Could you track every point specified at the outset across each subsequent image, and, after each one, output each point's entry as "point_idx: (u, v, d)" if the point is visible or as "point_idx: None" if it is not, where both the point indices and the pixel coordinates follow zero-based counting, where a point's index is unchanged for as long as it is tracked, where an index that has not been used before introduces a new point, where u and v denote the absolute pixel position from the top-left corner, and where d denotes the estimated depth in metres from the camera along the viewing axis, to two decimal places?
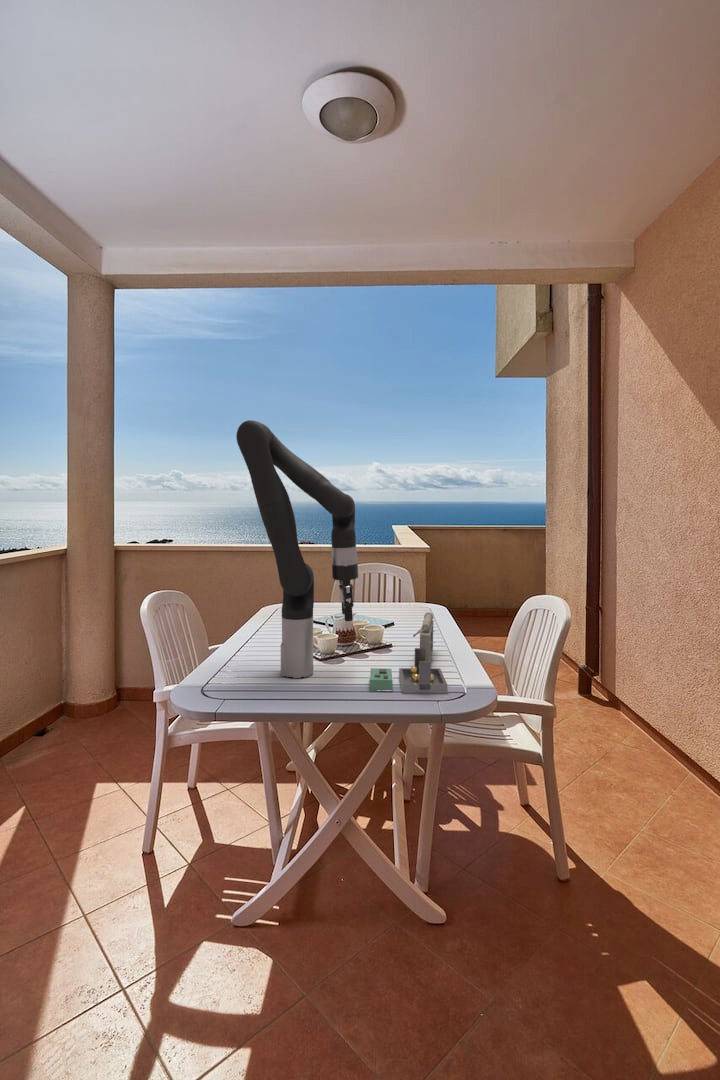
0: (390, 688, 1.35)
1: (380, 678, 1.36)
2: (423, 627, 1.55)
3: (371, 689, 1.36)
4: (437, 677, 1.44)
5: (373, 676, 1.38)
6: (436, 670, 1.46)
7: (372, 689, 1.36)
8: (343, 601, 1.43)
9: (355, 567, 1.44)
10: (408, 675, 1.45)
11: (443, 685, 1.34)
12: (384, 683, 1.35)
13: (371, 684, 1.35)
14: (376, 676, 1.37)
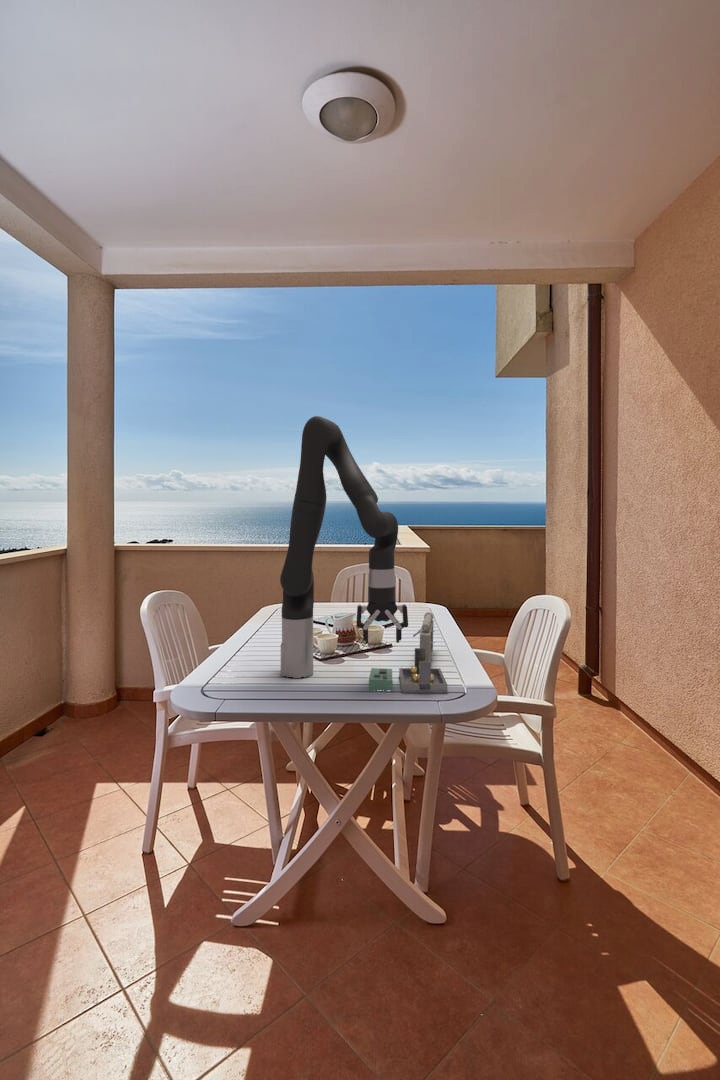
0: (389, 688, 1.35)
1: (379, 678, 1.36)
2: (423, 627, 1.55)
3: (370, 689, 1.36)
4: (437, 677, 1.44)
5: (372, 676, 1.38)
6: (436, 670, 1.46)
7: (371, 689, 1.36)
8: (396, 623, 1.38)
9: None
10: (408, 675, 1.45)
11: (443, 685, 1.34)
12: (383, 683, 1.35)
13: (370, 684, 1.36)
14: (375, 676, 1.38)
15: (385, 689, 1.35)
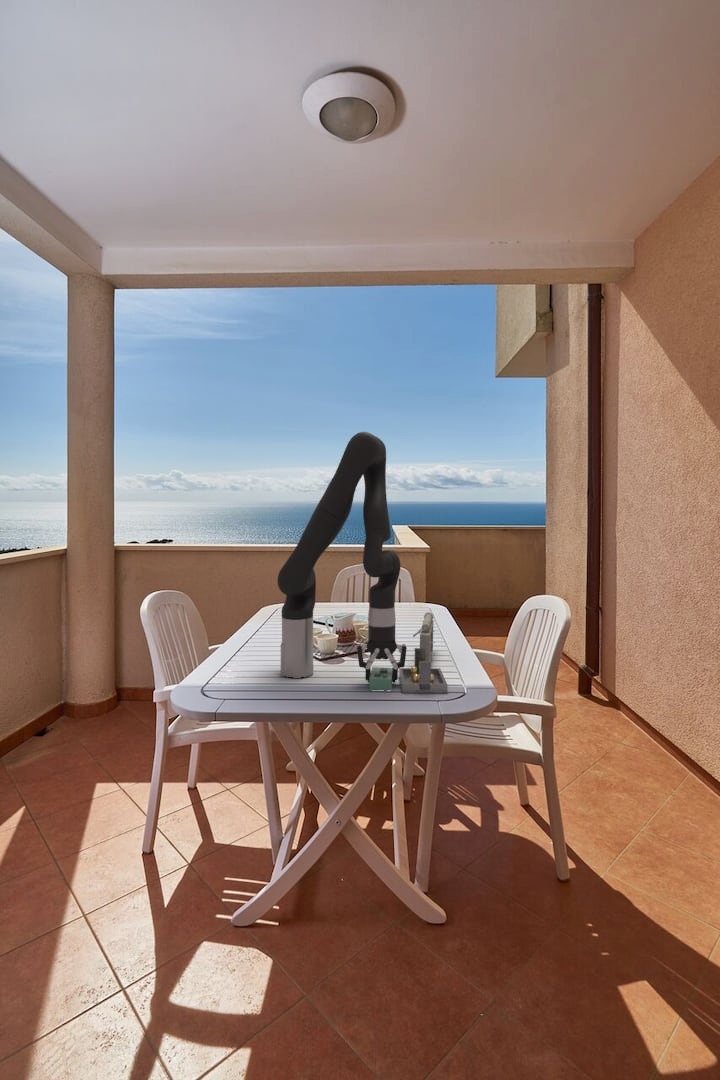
0: (389, 687, 1.35)
1: (379, 677, 1.36)
2: (423, 627, 1.55)
3: (370, 688, 1.36)
4: (437, 677, 1.44)
5: (373, 675, 1.38)
6: (436, 670, 1.46)
7: (371, 688, 1.36)
8: (393, 662, 1.39)
9: None
10: (408, 675, 1.45)
11: (443, 685, 1.34)
12: (383, 682, 1.35)
13: (370, 683, 1.36)
14: (376, 675, 1.38)
15: (385, 688, 1.35)
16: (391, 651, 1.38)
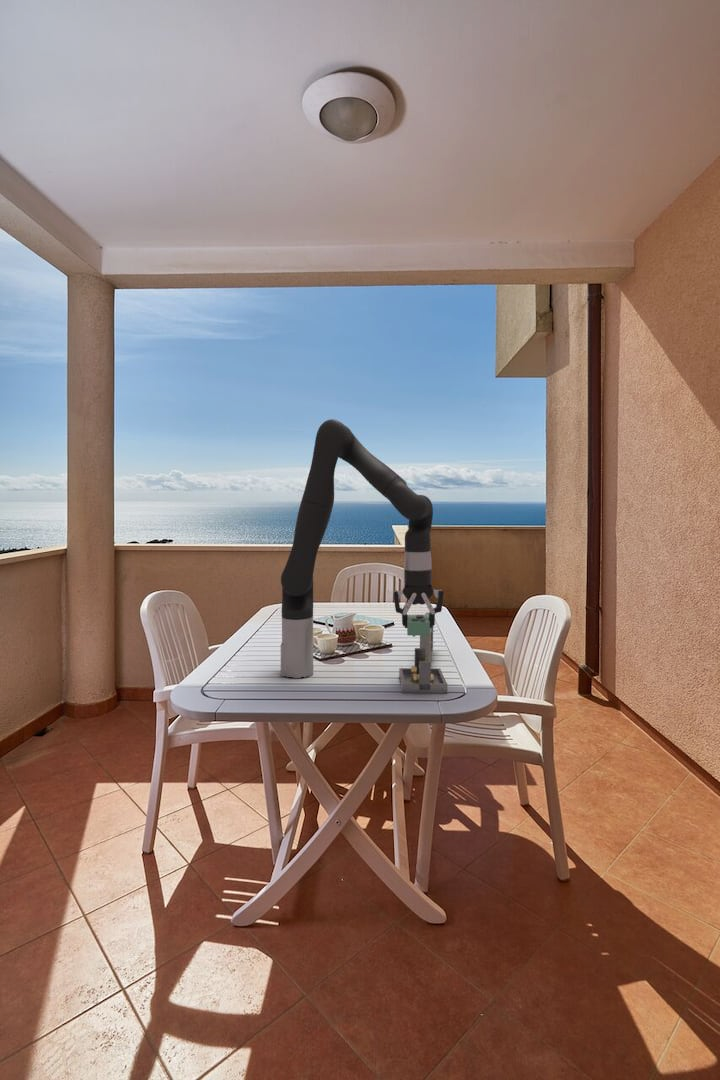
0: (427, 631, 1.34)
1: (417, 621, 1.36)
2: None
3: (408, 632, 1.35)
4: (437, 677, 1.44)
5: (410, 620, 1.37)
6: (436, 670, 1.46)
7: (409, 632, 1.35)
8: (430, 607, 1.38)
9: None
10: (408, 675, 1.45)
11: (443, 685, 1.34)
12: (421, 626, 1.34)
13: (408, 627, 1.35)
14: (413, 620, 1.37)
15: (423, 632, 1.35)
16: (428, 596, 1.38)
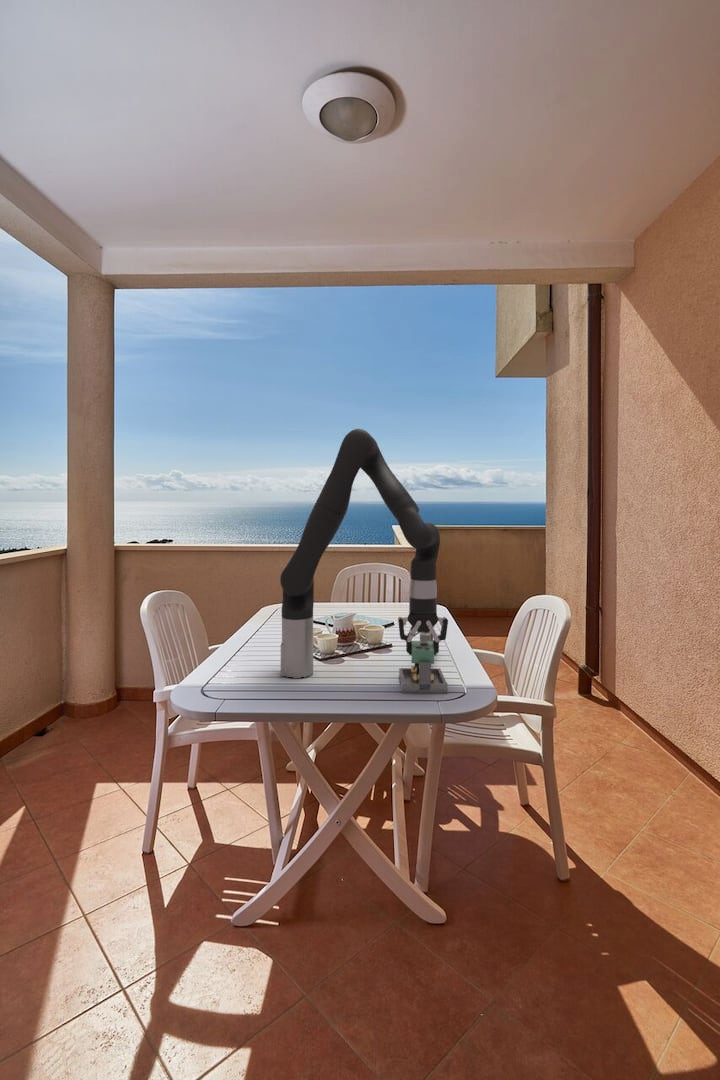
0: (432, 659, 1.35)
1: (422, 649, 1.36)
2: None
3: (413, 660, 1.36)
4: (437, 677, 1.44)
5: (414, 647, 1.38)
6: (436, 670, 1.46)
7: (414, 660, 1.36)
8: (435, 635, 1.39)
9: None
10: (408, 675, 1.45)
11: (443, 685, 1.34)
12: (425, 654, 1.35)
13: (413, 655, 1.36)
14: (418, 647, 1.38)
15: (428, 660, 1.35)
16: (432, 624, 1.38)
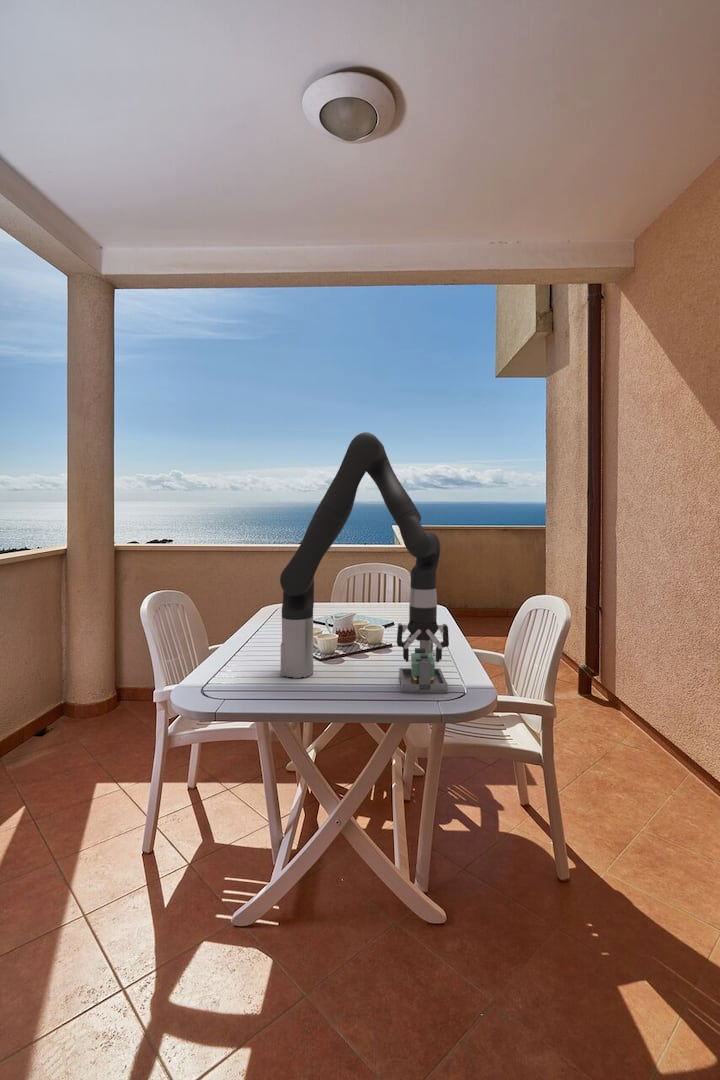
0: (432, 672, 1.35)
1: None
2: None
3: (413, 673, 1.36)
4: (437, 677, 1.44)
5: (414, 660, 1.38)
6: (436, 670, 1.46)
7: (414, 673, 1.36)
8: (437, 642, 1.39)
9: None
10: (408, 675, 1.45)
11: (443, 685, 1.34)
12: None
13: (413, 668, 1.36)
14: (418, 660, 1.38)
15: None
16: (432, 632, 1.38)
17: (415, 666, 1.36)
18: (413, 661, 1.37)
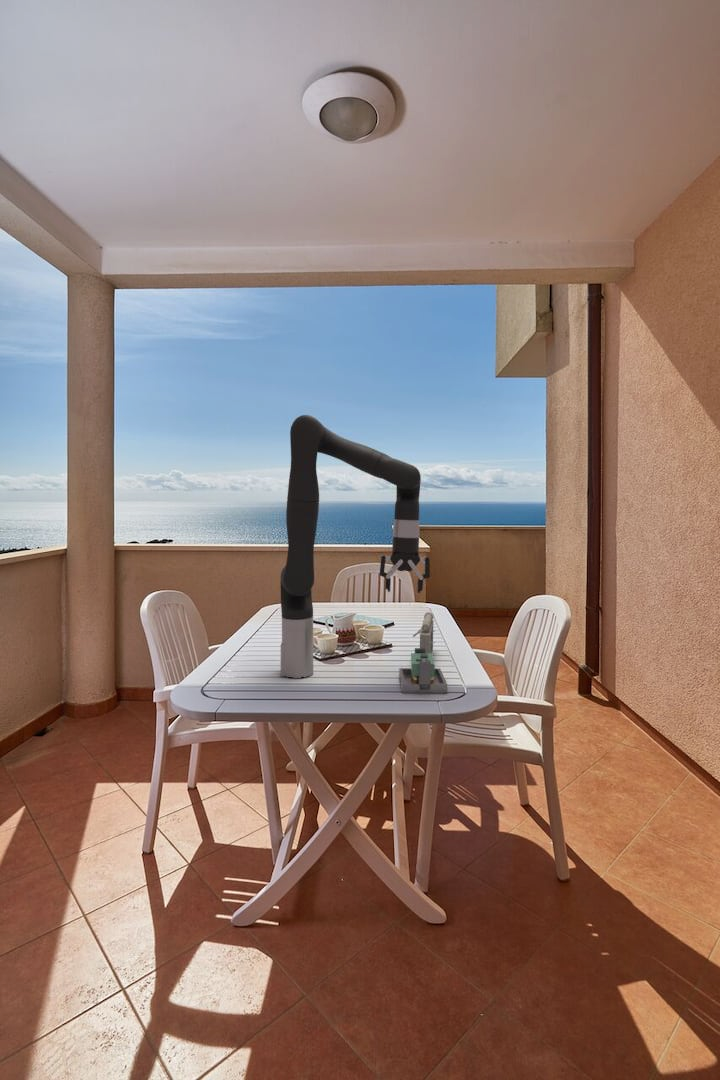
0: (432, 672, 1.35)
1: None
2: (423, 627, 1.55)
3: (413, 673, 1.36)
4: (437, 677, 1.44)
5: (414, 660, 1.38)
6: (436, 670, 1.46)
7: (414, 673, 1.36)
8: (418, 573, 1.43)
9: None
10: (408, 675, 1.45)
11: (443, 685, 1.34)
12: None
13: (413, 668, 1.36)
14: (418, 660, 1.38)
15: None
16: (414, 563, 1.43)
17: (415, 666, 1.36)
18: (413, 661, 1.37)
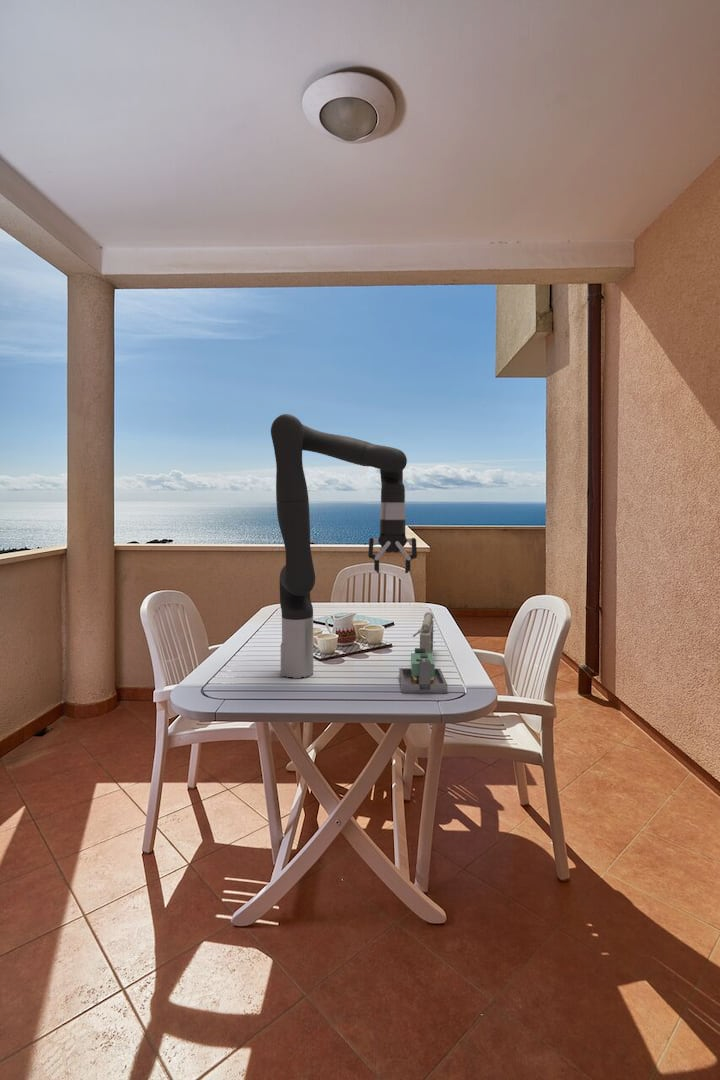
0: (432, 672, 1.35)
1: None
2: (423, 627, 1.55)
3: (413, 673, 1.36)
4: (437, 677, 1.44)
5: (414, 660, 1.38)
6: (436, 670, 1.46)
7: (414, 673, 1.36)
8: (406, 554, 1.47)
9: None
10: (408, 675, 1.45)
11: (443, 685, 1.34)
12: None
13: (413, 668, 1.36)
14: (418, 660, 1.38)
15: None
16: (401, 544, 1.47)
17: (415, 666, 1.36)
18: (413, 661, 1.37)
